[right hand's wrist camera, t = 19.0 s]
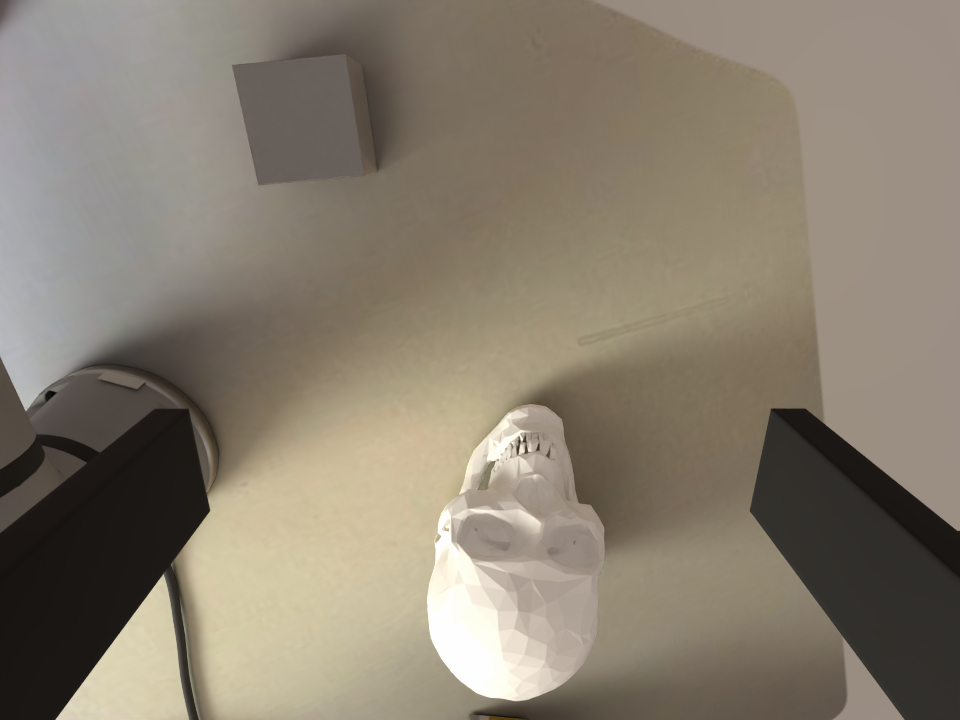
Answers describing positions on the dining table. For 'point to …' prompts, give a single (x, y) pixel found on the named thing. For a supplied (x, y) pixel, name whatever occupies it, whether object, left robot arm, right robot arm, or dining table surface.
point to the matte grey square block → (306, 118)
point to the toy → (490, 718)
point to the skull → (517, 565)
